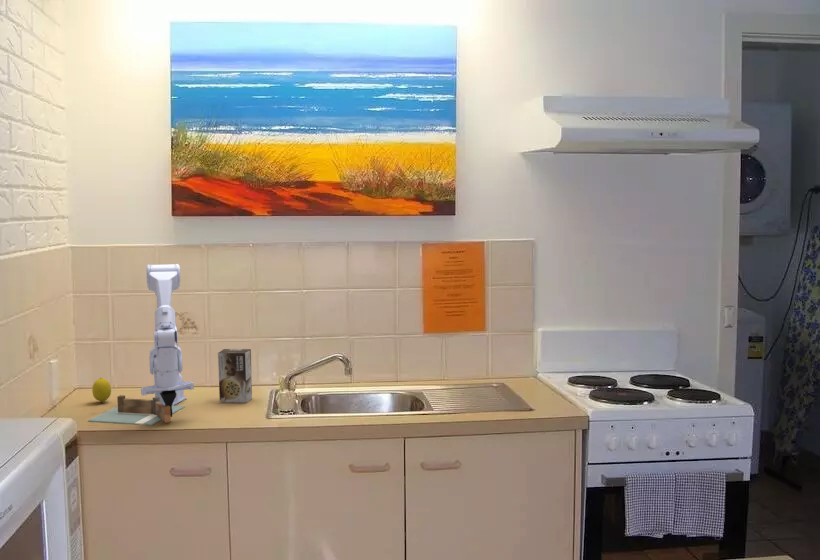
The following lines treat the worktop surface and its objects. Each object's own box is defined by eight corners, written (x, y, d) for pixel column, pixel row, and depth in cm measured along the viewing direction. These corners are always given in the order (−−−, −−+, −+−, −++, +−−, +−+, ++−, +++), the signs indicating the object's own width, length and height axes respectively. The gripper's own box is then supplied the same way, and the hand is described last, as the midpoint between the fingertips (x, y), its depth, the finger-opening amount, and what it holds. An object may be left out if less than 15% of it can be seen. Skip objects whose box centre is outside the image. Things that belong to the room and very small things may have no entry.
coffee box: (252, 398, 259) (251, 348, 257) (246, 403, 252) (245, 352, 251) (225, 397, 260) (224, 348, 258) (218, 402, 253) (217, 352, 252)
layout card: (125, 403, 251) (125, 402, 251) (184, 407, 248) (184, 405, 248) (88, 421, 232) (88, 420, 232) (152, 425, 228) (151, 423, 228)
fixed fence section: (117, 413, 240) (116, 396, 239) (121, 412, 242) (120, 395, 241) (158, 416, 237) (157, 398, 237) (161, 414, 239) (160, 397, 239)
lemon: (114, 400, 256) (113, 375, 255) (108, 404, 250) (107, 379, 249) (96, 400, 256) (95, 375, 255) (90, 404, 250) (89, 379, 249)
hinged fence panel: (154, 413, 237) (154, 399, 237) (160, 413, 238) (159, 398, 237) (165, 422, 228) (164, 407, 227) (170, 421, 229) (170, 406, 228)
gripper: (144, 375, 224) (146, 423, 225) (196, 370, 231) (197, 416, 232) (138, 371, 230) (140, 417, 231) (189, 365, 237) (190, 410, 238)
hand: (168, 416), depth 232 cm, fingers closed, pressing on hinged fence panel
